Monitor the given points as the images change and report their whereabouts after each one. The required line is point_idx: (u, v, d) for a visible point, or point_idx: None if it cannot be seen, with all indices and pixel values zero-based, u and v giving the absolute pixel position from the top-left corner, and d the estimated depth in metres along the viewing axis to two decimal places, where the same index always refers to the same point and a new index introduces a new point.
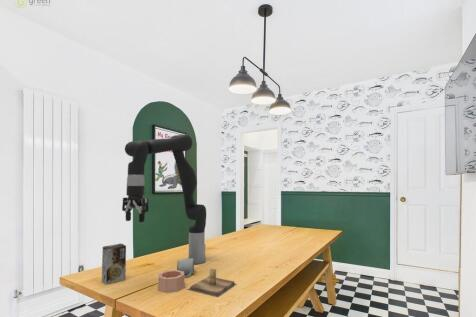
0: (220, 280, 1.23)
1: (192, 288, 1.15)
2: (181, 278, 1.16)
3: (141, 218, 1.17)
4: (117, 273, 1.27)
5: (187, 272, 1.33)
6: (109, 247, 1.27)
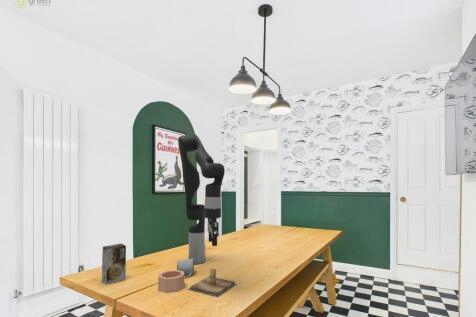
0: (220, 280, 1.23)
1: (192, 288, 1.15)
2: (181, 278, 1.16)
3: None
4: (117, 273, 1.27)
5: (187, 272, 1.32)
6: (109, 247, 1.27)
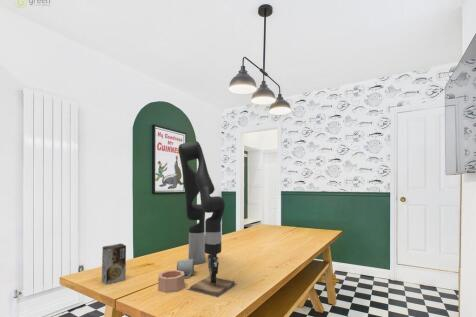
0: (220, 280, 1.23)
1: (192, 288, 1.15)
2: (181, 278, 1.16)
3: None
4: (117, 273, 1.27)
5: (187, 273, 1.32)
6: (109, 247, 1.27)
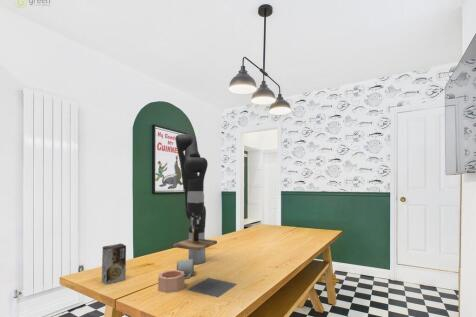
0: (203, 240, 1.24)
1: (175, 246, 1.17)
2: (181, 278, 1.16)
3: None
4: (117, 273, 1.27)
5: (187, 273, 1.31)
6: (109, 247, 1.27)
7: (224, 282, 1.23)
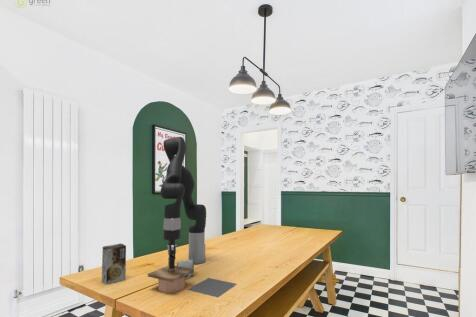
0: (180, 268, 1.23)
1: (149, 275, 1.16)
2: (181, 278, 1.16)
3: None
4: (117, 273, 1.27)
5: None
6: (109, 247, 1.27)
7: (224, 282, 1.23)
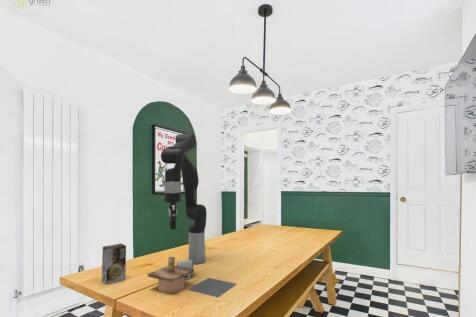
0: (180, 268, 1.23)
1: (149, 275, 1.16)
2: (181, 278, 1.16)
3: None
4: (117, 273, 1.27)
5: None
6: (109, 247, 1.27)
7: (224, 282, 1.23)
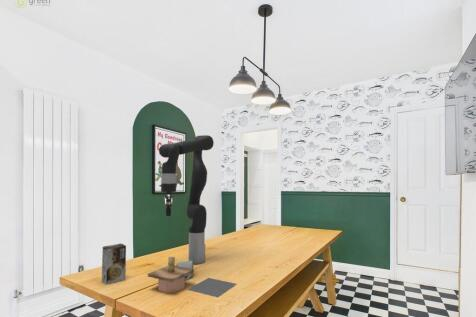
0: (180, 268, 1.23)
1: (149, 275, 1.16)
2: (181, 278, 1.16)
3: None
4: (117, 273, 1.27)
5: None
6: (109, 247, 1.27)
7: (224, 282, 1.23)
